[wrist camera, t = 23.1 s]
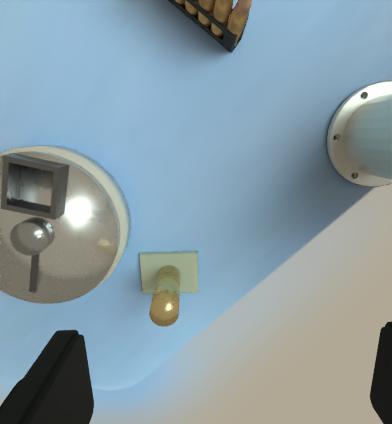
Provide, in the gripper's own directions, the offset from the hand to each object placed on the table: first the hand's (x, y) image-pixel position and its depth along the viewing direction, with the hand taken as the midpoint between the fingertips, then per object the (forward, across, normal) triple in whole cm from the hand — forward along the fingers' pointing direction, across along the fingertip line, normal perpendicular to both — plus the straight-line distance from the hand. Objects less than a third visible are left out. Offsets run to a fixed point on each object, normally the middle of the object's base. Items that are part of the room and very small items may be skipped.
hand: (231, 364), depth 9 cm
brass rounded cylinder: (+30, +5, +12) cm, 32 cm away
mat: (+30, +5, +12) cm, 33 cm away
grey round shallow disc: (+27, +20, +4) cm, 34 cm away
